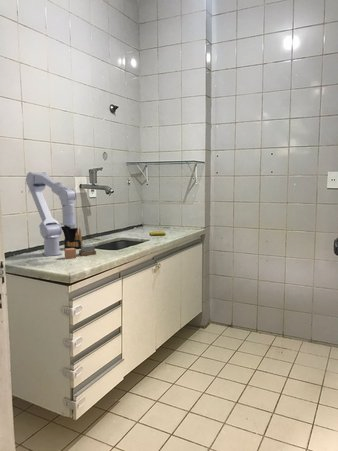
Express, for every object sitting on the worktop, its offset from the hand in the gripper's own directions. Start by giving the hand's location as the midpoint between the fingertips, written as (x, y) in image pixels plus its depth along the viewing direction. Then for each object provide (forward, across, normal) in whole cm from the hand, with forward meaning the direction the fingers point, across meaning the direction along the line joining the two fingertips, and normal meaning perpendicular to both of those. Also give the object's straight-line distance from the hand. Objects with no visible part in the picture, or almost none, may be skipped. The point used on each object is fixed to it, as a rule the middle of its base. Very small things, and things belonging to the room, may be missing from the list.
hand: (69, 241), depth 187 cm
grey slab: (+6, -4, +10) cm, 13 cm away
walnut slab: (+9, -4, +10) cm, 14 cm away
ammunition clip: (+8, -24, +8) cm, 27 cm away
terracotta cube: (+8, 0, 0) cm, 8 cm away
